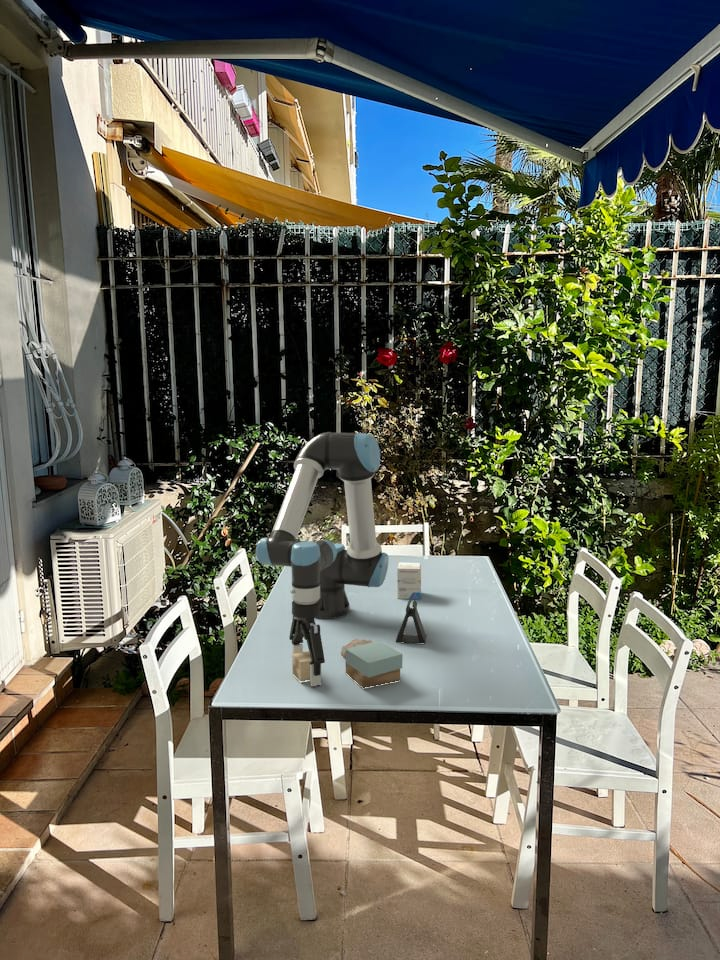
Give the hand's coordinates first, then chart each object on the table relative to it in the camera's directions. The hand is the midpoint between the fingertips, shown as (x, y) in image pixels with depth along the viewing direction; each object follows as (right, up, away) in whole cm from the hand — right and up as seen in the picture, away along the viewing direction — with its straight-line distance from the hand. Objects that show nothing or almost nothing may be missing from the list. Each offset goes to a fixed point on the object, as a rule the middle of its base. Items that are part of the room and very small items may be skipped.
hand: (306, 676), depth 194 cm
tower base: (+18, -1, 0) cm, 18 cm away
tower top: (+18, +3, -1) cm, 19 cm away
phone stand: (+30, +4, +27) cm, 41 cm away
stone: (+15, +2, +17) cm, 23 cm away
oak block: (0, 0, 0) cm, 0 cm away
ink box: (+33, +10, +70) cm, 78 cm away
